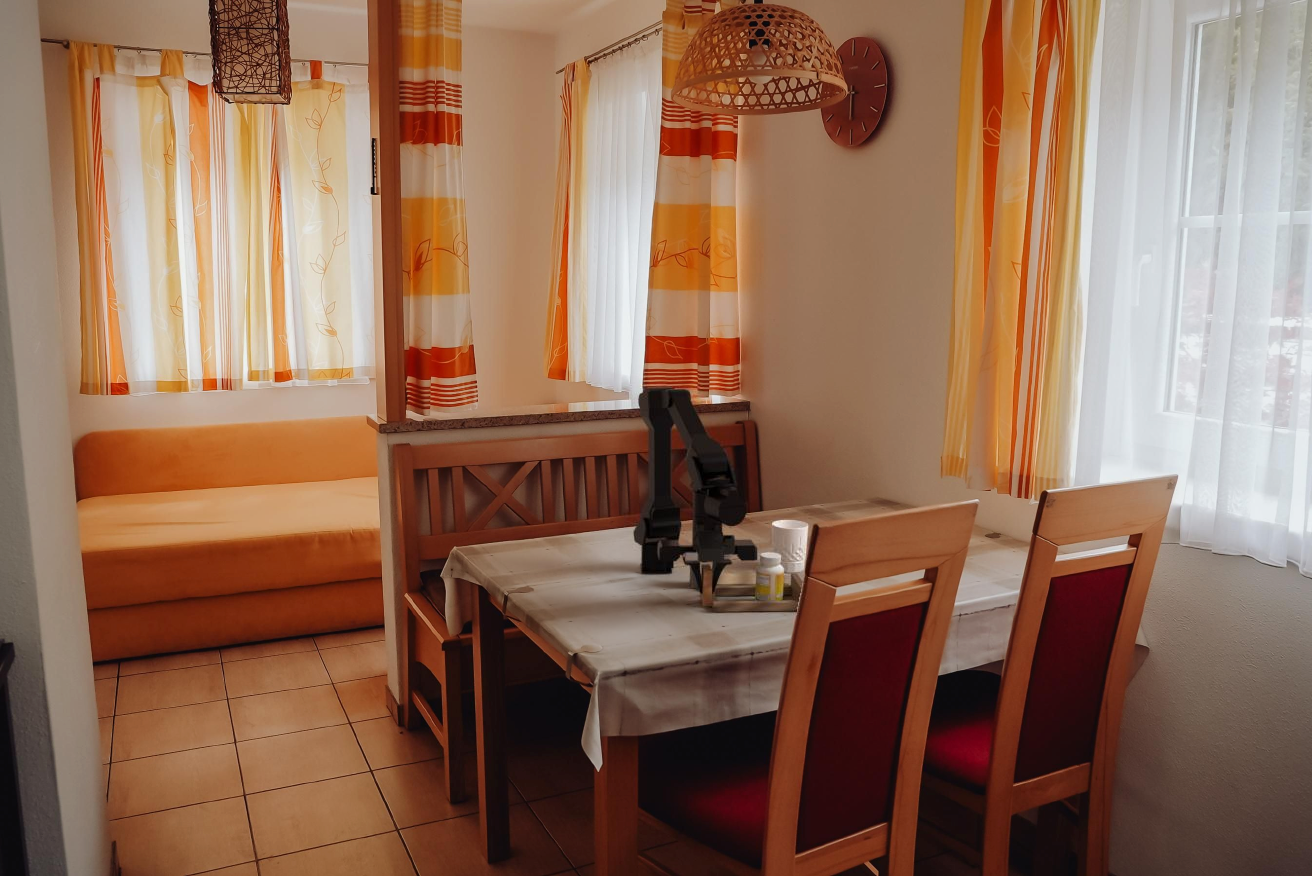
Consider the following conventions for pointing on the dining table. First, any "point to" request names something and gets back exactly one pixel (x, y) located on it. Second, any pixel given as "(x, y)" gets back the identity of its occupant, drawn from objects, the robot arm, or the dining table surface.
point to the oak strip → (732, 580)
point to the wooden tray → (721, 606)
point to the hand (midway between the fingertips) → (706, 593)
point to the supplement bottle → (769, 578)
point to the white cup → (790, 544)
